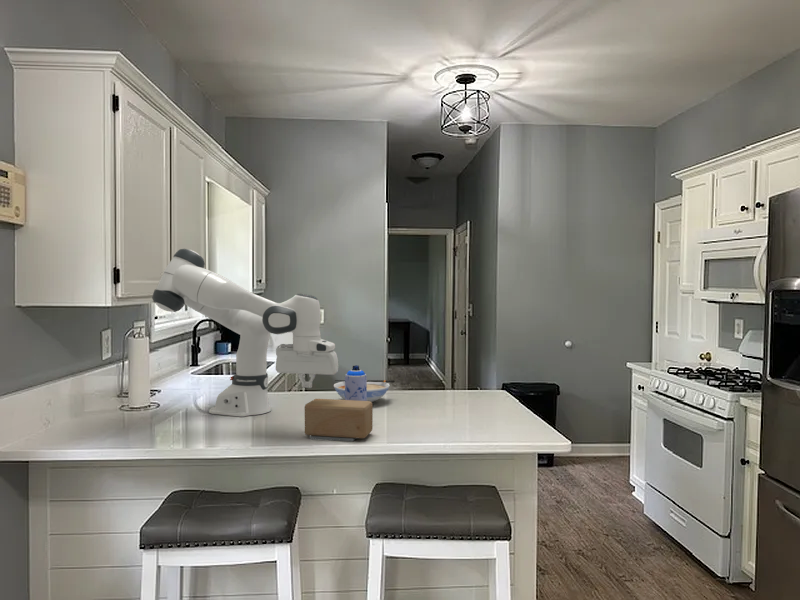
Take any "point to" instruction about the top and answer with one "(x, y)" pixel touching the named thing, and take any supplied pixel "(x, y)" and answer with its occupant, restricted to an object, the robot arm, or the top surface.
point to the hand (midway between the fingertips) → (306, 387)
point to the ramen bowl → (373, 388)
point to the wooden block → (338, 418)
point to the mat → (332, 438)
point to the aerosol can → (356, 385)
